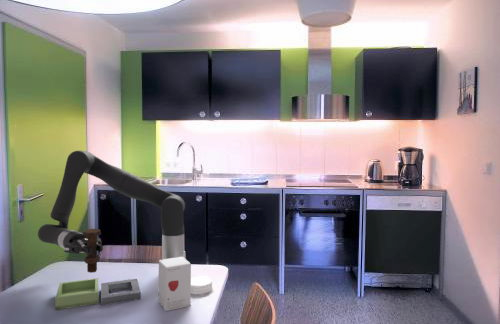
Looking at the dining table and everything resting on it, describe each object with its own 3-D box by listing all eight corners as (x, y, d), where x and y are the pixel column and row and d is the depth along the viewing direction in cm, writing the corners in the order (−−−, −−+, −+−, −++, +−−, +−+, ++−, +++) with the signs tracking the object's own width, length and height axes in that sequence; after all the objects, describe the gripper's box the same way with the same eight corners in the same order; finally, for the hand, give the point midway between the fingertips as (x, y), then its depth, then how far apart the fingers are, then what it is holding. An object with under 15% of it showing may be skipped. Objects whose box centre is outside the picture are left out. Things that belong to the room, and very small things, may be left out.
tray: (98, 288, 137) (98, 278, 136) (98, 303, 124) (97, 292, 123) (60, 293, 132) (59, 282, 131) (55, 309, 119) (55, 298, 118)
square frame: (137, 284, 140) (137, 278, 140) (140, 299, 127) (140, 292, 127) (101, 289, 135) (101, 283, 135) (101, 305, 122) (101, 298, 122)
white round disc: (205, 296, 130) (205, 287, 130) (181, 293, 133) (181, 284, 133) (216, 286, 140) (216, 277, 140) (193, 283, 143) (193, 274, 142)
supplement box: (165, 312, 118) (165, 267, 117) (158, 301, 126) (157, 259, 125) (191, 306, 122) (191, 263, 121) (183, 296, 130) (182, 255, 129)
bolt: (93, 275, 125) (93, 233, 124) (80, 273, 126) (80, 231, 125) (103, 269, 131) (103, 229, 130) (91, 268, 132) (90, 228, 131)
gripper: (53, 234, 131) (76, 243, 120) (90, 227, 142) (114, 235, 132) (53, 254, 131) (76, 265, 121) (90, 246, 142) (114, 255, 132)
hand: (96, 249), depth 126 cm, fingers closed on bolt, 3 cm apart
